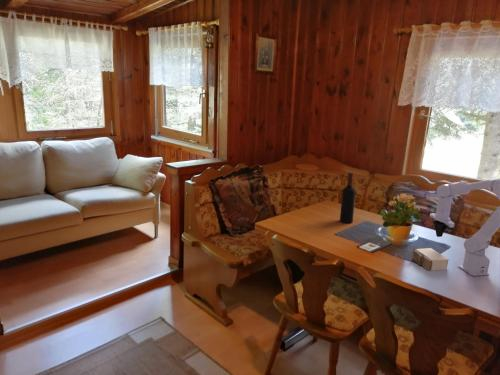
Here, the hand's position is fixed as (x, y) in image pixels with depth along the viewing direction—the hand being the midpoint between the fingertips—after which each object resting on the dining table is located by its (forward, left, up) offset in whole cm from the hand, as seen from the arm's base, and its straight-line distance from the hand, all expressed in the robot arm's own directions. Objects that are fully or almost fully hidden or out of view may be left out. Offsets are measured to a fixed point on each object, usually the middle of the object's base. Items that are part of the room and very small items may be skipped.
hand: (439, 236), depth 176 cm
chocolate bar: (+15, +24, -11) cm, 30 cm away
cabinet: (-8, +9, -10) cm, 16 cm away
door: (-6, +14, -10) cm, 18 cm away
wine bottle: (+51, +23, -10) cm, 57 cm away
